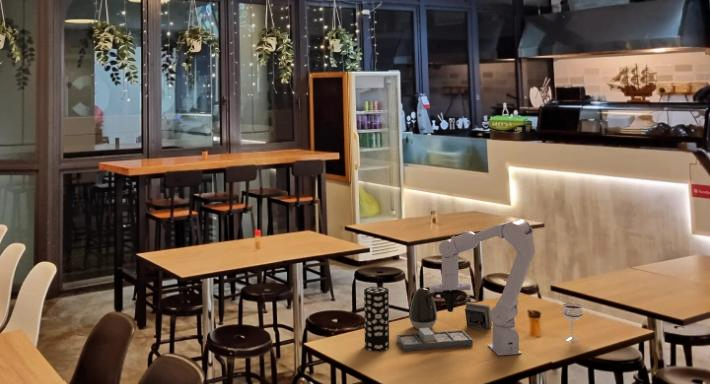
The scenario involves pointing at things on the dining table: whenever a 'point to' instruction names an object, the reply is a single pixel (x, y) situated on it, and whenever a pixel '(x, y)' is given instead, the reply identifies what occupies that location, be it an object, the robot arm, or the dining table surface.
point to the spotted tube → (376, 318)
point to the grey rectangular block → (426, 335)
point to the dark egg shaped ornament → (423, 309)
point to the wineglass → (572, 316)
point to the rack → (435, 341)
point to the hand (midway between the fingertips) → (450, 311)
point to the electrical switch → (478, 315)
